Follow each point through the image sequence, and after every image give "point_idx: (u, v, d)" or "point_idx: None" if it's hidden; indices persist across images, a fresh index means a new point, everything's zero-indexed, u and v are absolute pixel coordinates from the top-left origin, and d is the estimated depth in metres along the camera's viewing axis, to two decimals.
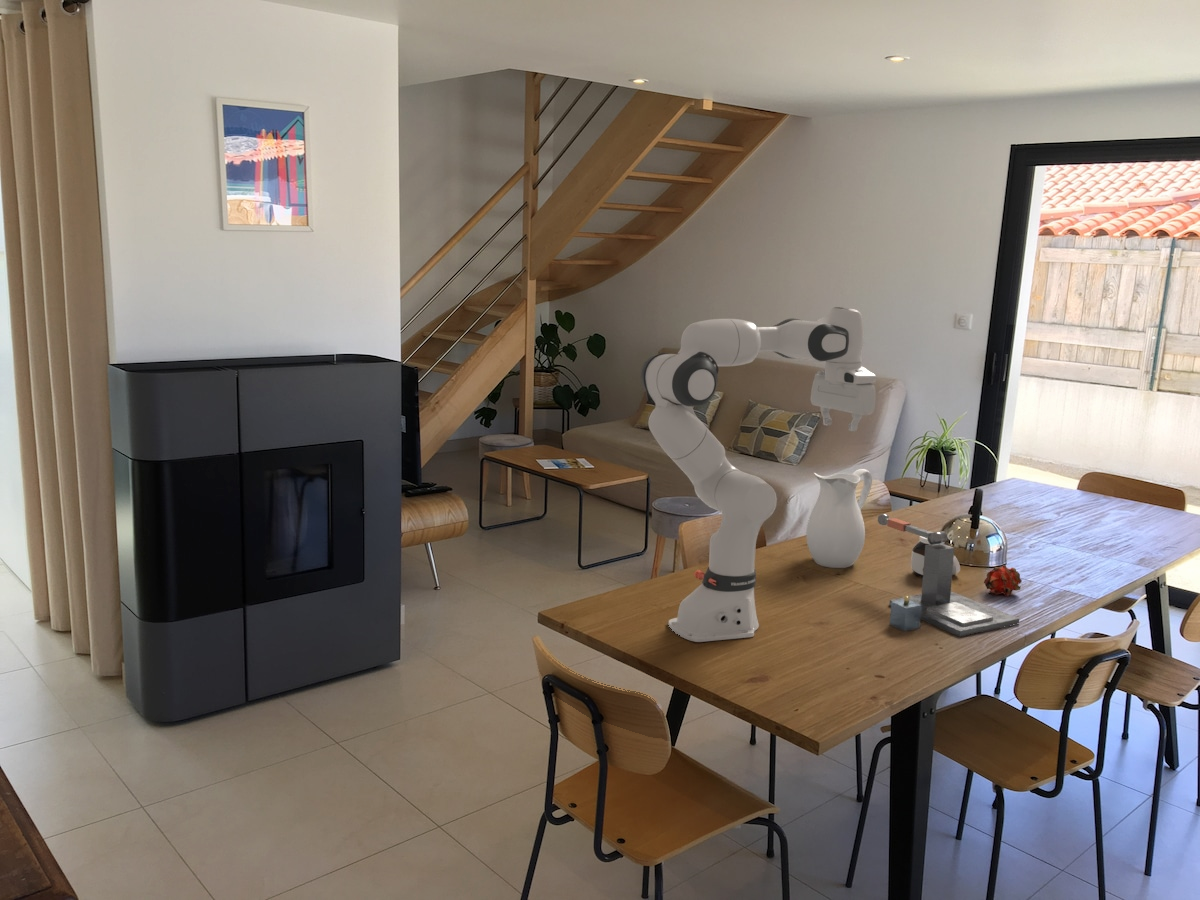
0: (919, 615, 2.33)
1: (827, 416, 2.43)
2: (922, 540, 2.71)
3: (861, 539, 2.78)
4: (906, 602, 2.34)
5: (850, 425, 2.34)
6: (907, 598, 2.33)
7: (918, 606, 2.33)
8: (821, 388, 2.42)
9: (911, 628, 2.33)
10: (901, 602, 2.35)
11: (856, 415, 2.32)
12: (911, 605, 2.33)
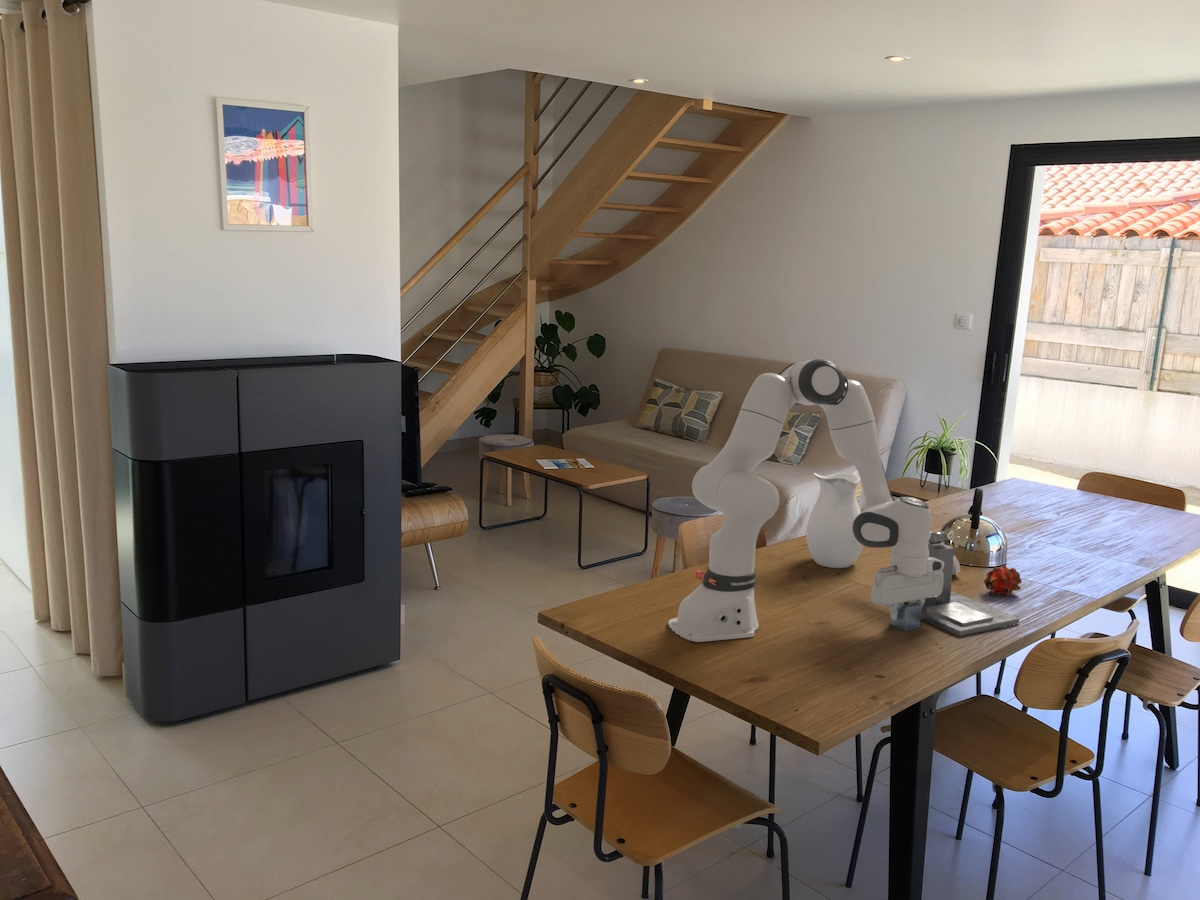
0: (919, 614, 2.33)
1: None
2: None
3: None
4: (906, 602, 2.33)
5: None
6: None
7: (918, 606, 2.33)
8: (894, 585, 2.29)
9: (911, 628, 2.33)
10: None
11: None
12: (911, 605, 2.33)
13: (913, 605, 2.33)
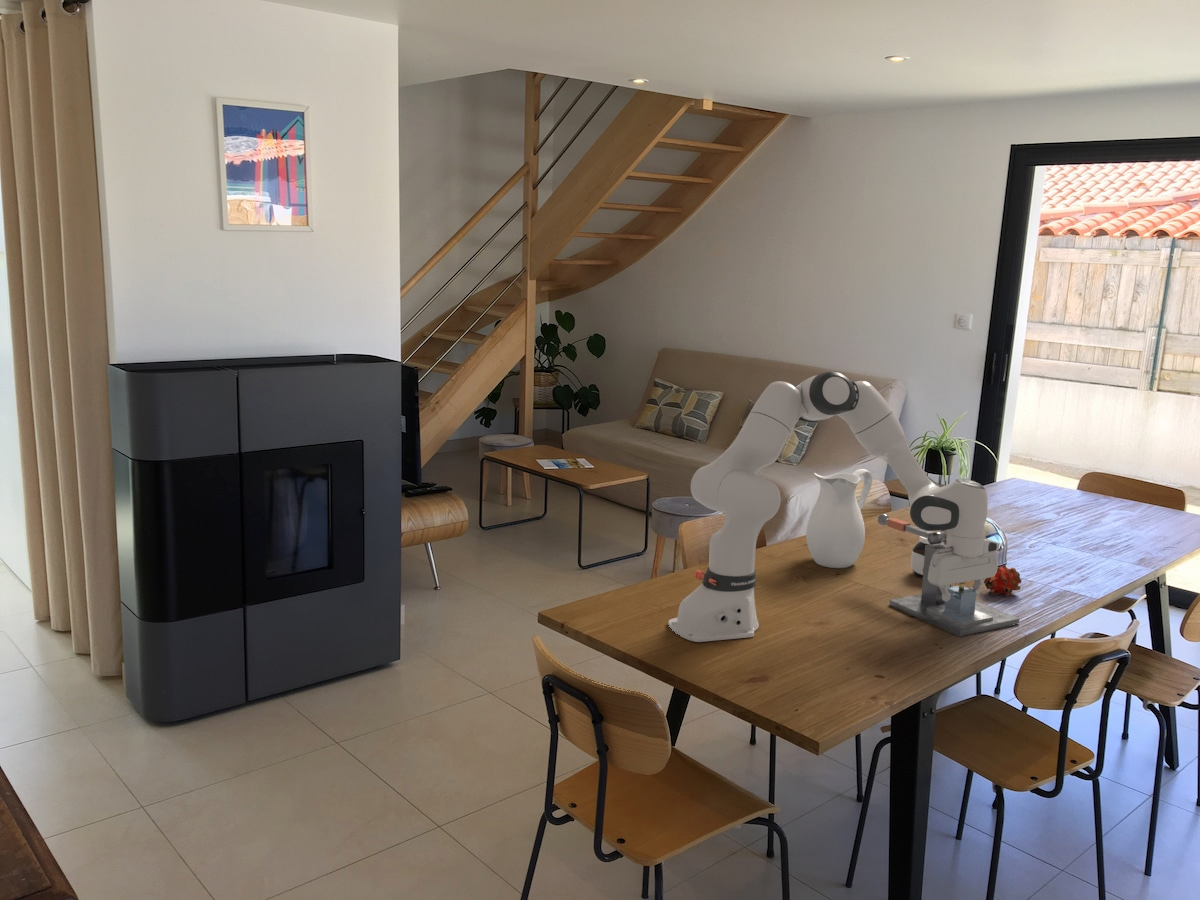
0: (974, 601, 2.37)
1: None
2: (922, 540, 2.71)
3: (861, 539, 2.78)
4: (961, 588, 2.37)
5: (977, 590, 2.39)
6: (962, 584, 2.37)
7: (973, 592, 2.36)
8: (951, 566, 2.32)
9: (966, 614, 2.36)
10: (956, 588, 2.38)
11: None
12: (966, 591, 2.36)
13: (968, 591, 2.36)
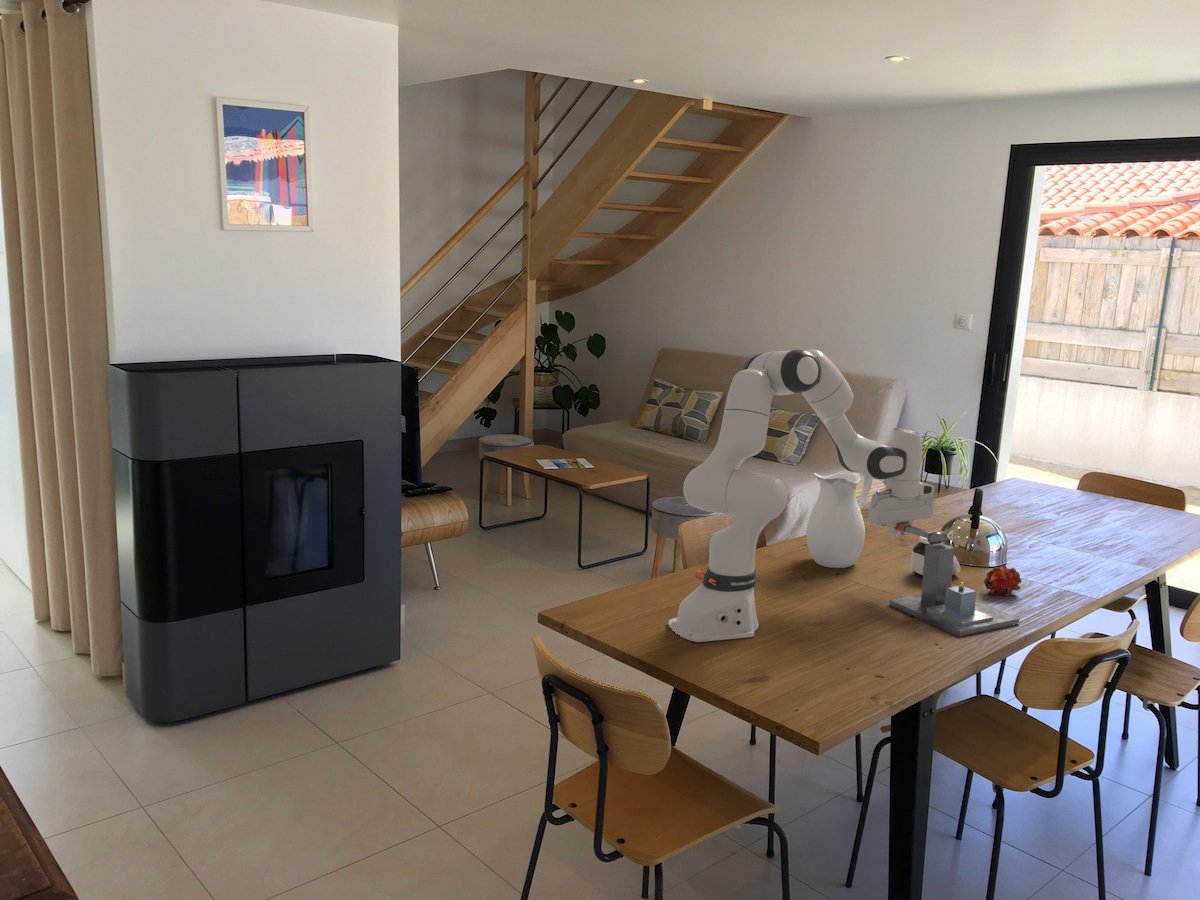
0: (974, 601, 2.37)
1: None
2: (922, 540, 2.71)
3: (861, 539, 2.78)
4: (961, 588, 2.37)
5: (906, 532, 2.59)
6: (962, 584, 2.37)
7: (973, 592, 2.36)
8: (889, 507, 2.53)
9: (966, 614, 2.36)
10: (956, 588, 2.38)
11: None
12: (966, 591, 2.36)
13: (968, 591, 2.36)
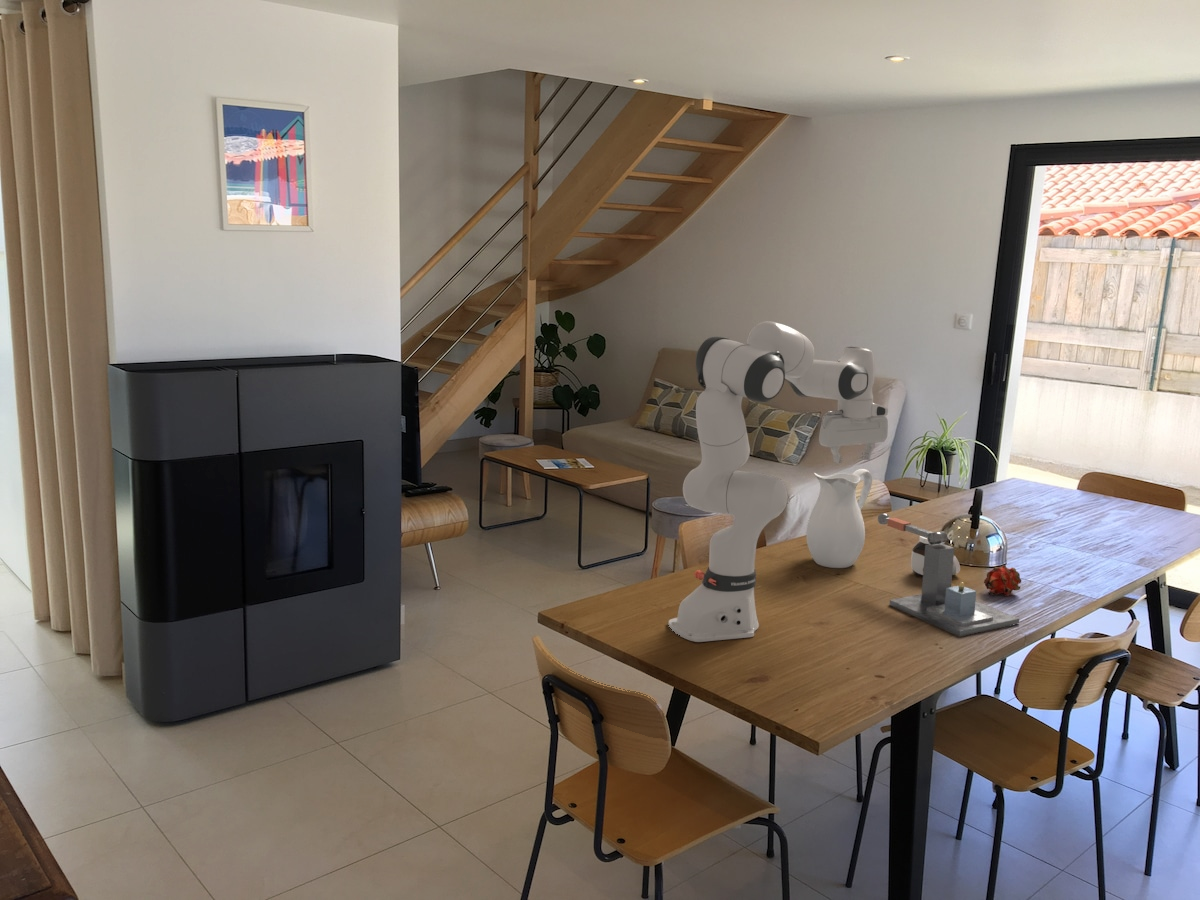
0: (974, 601, 2.37)
1: None
2: (922, 540, 2.71)
3: (861, 539, 2.78)
4: (961, 588, 2.37)
5: (868, 455, 2.51)
6: (962, 584, 2.37)
7: (973, 592, 2.36)
8: (840, 428, 2.44)
9: (966, 614, 2.36)
10: (956, 588, 2.38)
11: None
12: (966, 591, 2.36)
13: (968, 591, 2.36)
